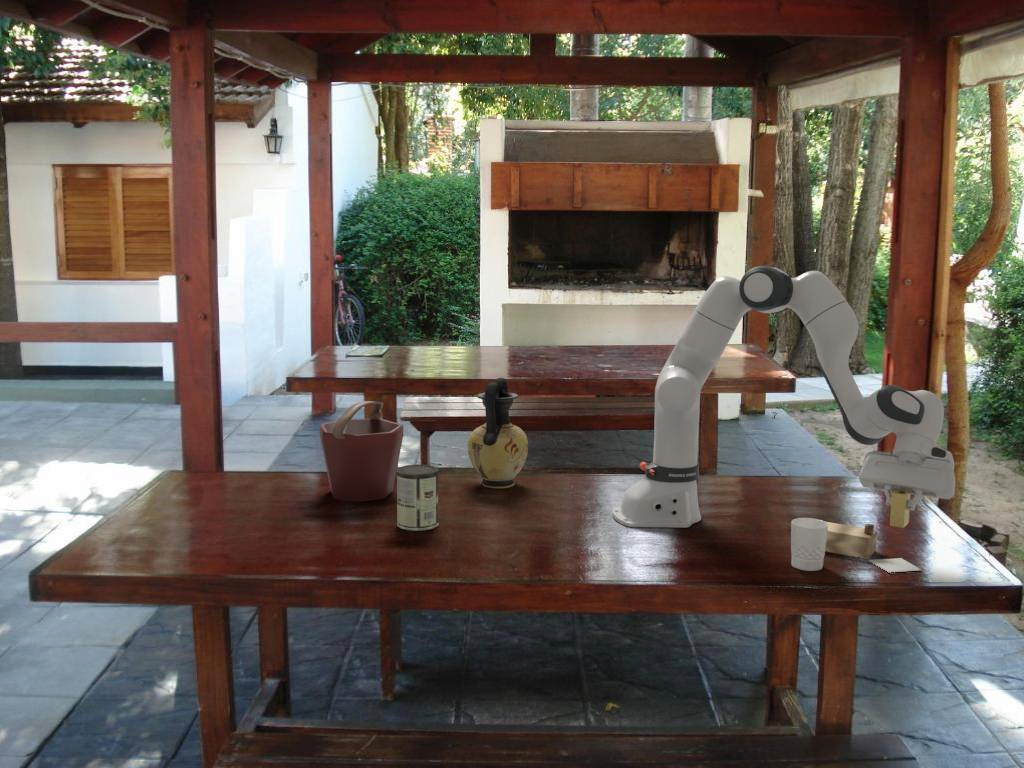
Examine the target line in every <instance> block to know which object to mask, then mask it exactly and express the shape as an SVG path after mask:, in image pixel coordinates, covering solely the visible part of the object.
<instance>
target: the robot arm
mask: <svg viewBox="0 0 1024 768" xmlns="http://www.w3.org/2000/svg"><path fill="white" fill-rule="evenodd" d="M788 309H790V310H793V312H795V313H796V315H797V316H798V317H799V319H800V320H801V322H802V323H803V325H804V327H805V328H806V330H807V331H808V333H809V336H810V337H811V339H812V342H813V345H814V348H815V352H816V353H815V354H816V360H817V363H818V367H819V370H820V371H821V373H822V375H823V376H822V377H823V378H824V379H825V381H826V384H827V385H828V387H829V390H830V391H831V394H832V397H833V398H834V400H835V402H836V404H837V407H838V409H839V411H840V414H841V418H842V423H843V425H844V428H845V430H846V432H847V433H848V435H849V436H850V437H851V438H852V439H853V440H854V441H856V442H858V443H859V444H861V445H865V446H873V445H877V444H878V443H879V442H881V441H882V440H884V439H885V437H887V436H888V435H890V434H891V433H893V434H894V435H896V439H895V443H894V447H893V451H892V452H890V451H879V450H872V451H869V452H866V453H865V455H864V457H863V463H862V464H863V465H862V466H861V468H860V469H861V470H860V471H859V474H858V479H859V482H860V485H862V487H863V488H866V489H867V488H868V489H875V490H881V491H884V494H885V497H886V501H885V506H886V507H888V508H891V497H892V496H891V495H892V492H893V491H894V490H896V489H897V488H899V487H903V488H905V490H911V495H915V496H914V497H913V498H912V499H910V500H908V501H907V506H906V507H907V510H910V511H915V510H916V509H915V508H916V505H919V503H920V502H921V501H923V500H924V499H923V498H924V497H927V498H928V497H930V498H935V499H943V500H950V499H952V498H953V497H954V496H955V493H956V492H955V491H956V475H955V474H956V473H955V460H954V456H953V454H952V452H951V451H949V450H947V449H944V448H942V447H939V446H938V445H937V442H938V439H939V438H940V436H941V433H942V430H943V429H942V428H943V423H944V419H945V407H944V403H943V401H942V400H941V398H940V397H939V396H938V395H937V394H935V393H933V392H932V391H929V390H925V389H919V390H913V391H912V390H906V389H905V388H902V387H901V386H898V385H897V384H896V385H895V384H886V385H884V386H882V387H880V388H879V389H877V390H876V391H874V392H872V393H871V394H870V395H869V396H867V397H866V398H865V397H864V396H863V394H862V392H861V390H860V388H859V386H858V384H857V381H856V380H855V378H854V375H853V374H852V372H851V369H850V365H849V361H850V359H849V358H850V355H851V351H852V348H853V345H854V344H855V342H856V340H857V337H858V334H859V327H860V326H859V321H858V318H857V316H856V313H855V311H854V309H853V308H852V306H851V305H850V304H849V302H848V301H847V299H846V298H845V297H844V295H843V294H842V292H841V291H840V290H839V289H838V287H837V286H836V285H835V284H834V283H833V282H832V281H831V280H830V279H829V277H827V275H826V274H824V273H823V272H821V271H818V270H809V271H806V272H804V273H802V274H800V275H797V276H796V277H792V276H791V275H790V274H789V273H788V272H786V271H784V270H782V269H780V268H778V267H774V266H768V265H759V266H755V267H753V268H750V269H749V270H748V271H746V272H745V273H744V275H743V276H742V278H741V280H740V279H737V278H735V277H733V276H719V277H717V278H716V279H715V280H714V281H713V282H712V283H711V284H710V286H709V287H708V289H706V291H705V293H704V294H703V295H702V297H701V299H700V300H699V302H698V303H697V305H696V307H695V309H694V311H693V312H692V314H691V316H690V318H689V319H688V322H687V324H686V325H685V327H684V329H683V332H681V335H680V336H679V339H678V340H677V342H676V344H675V346H674V348H673V349H672V351H671V353H670V355H669V356H668V358H667V360H666V362H665V363H664V365H663V367H662V369H661V371H660V373H659V375H658V377H657V380H656V384H655V388H654V418H653V419H654V424H653V425H654V427H653V429H654V433H653V434H654V435H653V457H652V458H653V460H652V461H651V462H650V463H649V464H648V463H647V462H645V461H641V462H640V464H639V469H640V470H641V471H644V472H645V476H644V477H643V478H642V479H640V480H639V481H638V482H636V483H634V484H633V485H632V486H630V487H629V488H628V489H626V490H625V491H624V493H623V496H622V499H621V504H620V507H615V508H614V509H612V513H611V514H612V518H613V519H614V520H615V521H617V522H618V523H619V524H620V525H623V526H626V527H629V528H630V527H631V528H684V529H685V528H686V529H687V528H690V527H691V526H692V525H693V524H695V523H698V522H700V521H701V520H702V515H701V512H700V507H699V501H698V500H699V499H698V485H699V477H700V471H699V469H700V468H699V467H700V465H699V463H698V453H699V451H698V450H699V428H700V408H701V407H700V406H701V391H702V388H703V387H704V385H705V383H706V382H707V379H708V378H709V376H710V374H711V372H712V371H713V370H714V368H715V366H716V364H717V363H718V362H719V360H720V358H721V357H722V355H723V354H724V352H725V350H726V348H727V346H728V344H729V342H730V340H731V338H732V336H733V335H734V333H735V332H736V331H735V330H736V329H737V327H738V326H739V324H740V322H741V320H742V318H743V317H744V316H745V314H746V313H748V312H749V311H751V310H753V311H757V312H759V313H762V314H780V313H784V312H785V311H787V310H788Z"/></svg>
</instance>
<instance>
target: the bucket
mask: <svg viewBox="0 0 1024 768" xmlns="http://www.w3.org/2000/svg"><path fill="white" fill-rule="evenodd" d="M370 405H371V407H370V409H369V412H370V414H369V418H353V417H354V416H355V415H356V414H357V413H358V412H359V410H361V409H362V408H364V407H366V406H370ZM383 407H384V402H381V401H372V400H371V401H370V400H367V401H366V400H365V401H359V402H356V403H354V404H352V405H350V406H349V407H348V408H347V409H346V410H345V412H343V413H342V415H341V416H340V417H339V418H338V419H337V420H334V421H330V422H329V421H328V422H324V423H320V424H319V438H320V444H321V448H322V453H323V459H324V463H325V468H326V473H327V478H328V484H329V488H330V492H331V494H332V497H333V499H334V500H342V501H349V502H356V503H359V502H369V501H377V500H383V499H386V498H387V497H388V496H389V495H390V494H392V492H394V491H393V490H394V486H395V481H396V480H395V479H396V477H397V473H396V470H397V468H398V465H399V461H400V455H401V450H402V446H403V445H402V444H403V439H404V424H402V423H398V422H395V421H391V420H389V419H383V412H382V408H383Z"/></svg>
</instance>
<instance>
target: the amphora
mask: <svg viewBox="0 0 1024 768" xmlns="http://www.w3.org/2000/svg"><path fill="white" fill-rule="evenodd" d="M508 386H509V383H508V381H507V379H506V378H505V377H498V378H496V379H495V382H494V381H492V382H491V381H490V382H489V383H488V384H487V385H486V388H485V392H482V393H477V396H476V397H477V398H478V399H480V400H482V401H481V402H482V406H483V407H484V409H485V423H484V424H482V425H480V426H478V427H476V428H475V429H473V431H472V432H471V434H470V435H469V438H468V441H467V451H468V456H469V460H470V462H471V465H472V467H473V469H474V471H476V473H477V474H478V475H479V476H480V477H481V478H482V482H481V484H482V486H484V487H485V488H489V489H507V488H512V487H514V486H515V485H516V484H515V481H514V478H516V476H517V475H518V474H520V472H521V470H522V469H523V468H524V464H525V463H526V460H527V457H528V452H529V440H528V437H527V434H526V433H525V431H524V430H522V428H520V427H519V426H517V425H515V424H513V423H512V422H511V420H510V409H511V407H512V406H513V404H514V400H516V399H518V398H519V395H518V394H517V393H515V392H508V391H509V387H508Z"/></svg>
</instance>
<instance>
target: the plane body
mask: <svg viewBox="0 0 1024 768" xmlns="http://www.w3.org/2000/svg"><path fill="white" fill-rule="evenodd" d="M825 522H826V523H828V532H827V541H826V549H825V553H826V552H827V553H832V554H838V555H841V556H842V555H843V556H848V557H853V556H854V558H858V557H860V558H859V559H863V558H865V559H864V560H869V558H870V557H872V555H873V554H874V553H876V551H877V550H876V549H877V539H878V538H877V536H878V530H876V529H875V525H874V524H871V523H865V524H864V527H860V526H853V525H847V524H843V523H842V524H841V523H836V522H835V523H834V522H830V521H825Z"/></svg>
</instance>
